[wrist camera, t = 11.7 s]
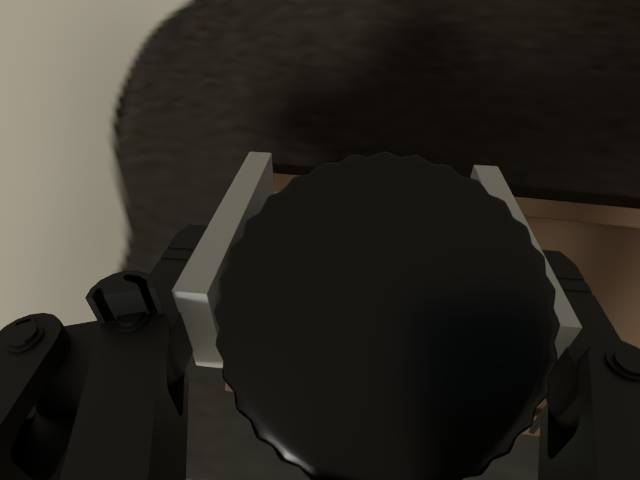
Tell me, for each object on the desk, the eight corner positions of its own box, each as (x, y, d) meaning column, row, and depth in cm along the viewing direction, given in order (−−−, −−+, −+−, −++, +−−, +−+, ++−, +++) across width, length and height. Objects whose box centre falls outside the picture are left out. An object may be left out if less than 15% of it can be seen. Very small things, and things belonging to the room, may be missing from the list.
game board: (959, 243, 16) (982, 242, 16) (971, 494, 15) (996, 502, 15) (258, 174, 19) (255, 171, 18) (229, 386, 18) (224, 390, 17)
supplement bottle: (288, 379, 17) (144, 607, 5) (272, 226, 18) (117, 111, 6) (446, 363, 16) (698, 572, 5) (423, 208, 17) (587, 41, 5)
